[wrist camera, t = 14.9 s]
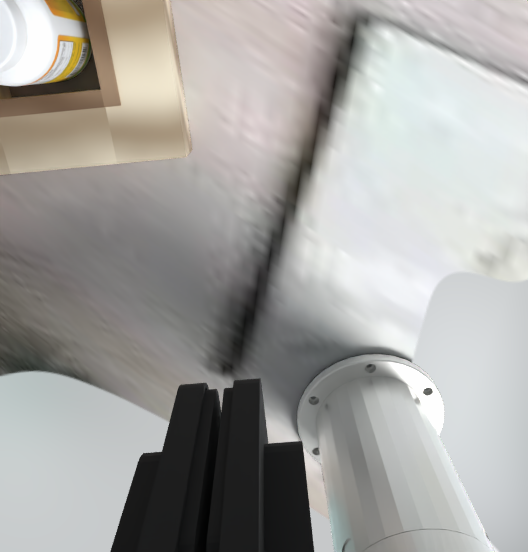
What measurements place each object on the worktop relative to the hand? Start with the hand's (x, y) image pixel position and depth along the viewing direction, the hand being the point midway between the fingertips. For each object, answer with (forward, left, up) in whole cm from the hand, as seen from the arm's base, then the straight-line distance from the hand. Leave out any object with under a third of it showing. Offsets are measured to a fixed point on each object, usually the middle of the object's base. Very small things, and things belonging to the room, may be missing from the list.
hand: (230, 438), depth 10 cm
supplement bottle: (+10, +12, -27) cm, 31 cm away
